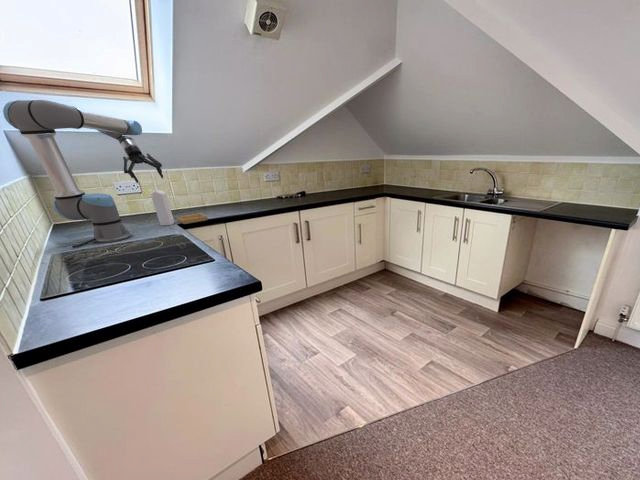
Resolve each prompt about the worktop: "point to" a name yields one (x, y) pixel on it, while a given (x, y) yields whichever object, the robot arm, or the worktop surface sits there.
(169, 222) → the milk
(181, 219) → the tray
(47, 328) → the worktop surface
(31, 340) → the worktop surface
